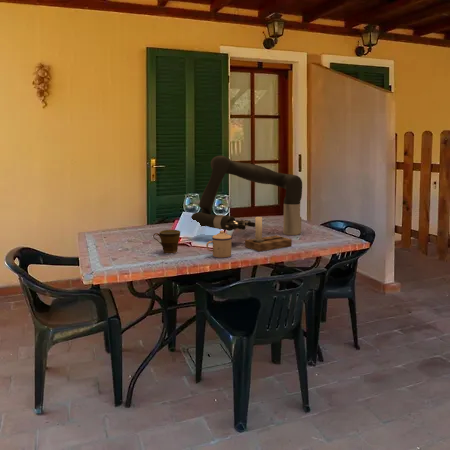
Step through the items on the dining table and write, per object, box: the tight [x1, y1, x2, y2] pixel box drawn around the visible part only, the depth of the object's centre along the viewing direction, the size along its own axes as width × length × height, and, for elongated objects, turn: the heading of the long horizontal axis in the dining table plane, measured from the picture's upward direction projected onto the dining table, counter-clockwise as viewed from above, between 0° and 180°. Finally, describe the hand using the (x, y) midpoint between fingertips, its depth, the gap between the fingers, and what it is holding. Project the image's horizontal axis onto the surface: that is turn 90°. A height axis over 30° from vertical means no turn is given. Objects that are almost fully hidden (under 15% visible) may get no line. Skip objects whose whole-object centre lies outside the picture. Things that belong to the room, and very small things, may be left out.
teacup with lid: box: [205, 230, 233, 259], centre depth 214 cm, size 12×9×12 cm
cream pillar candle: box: [252, 216, 264, 242], centre depth 227 cm, size 4×4×14 cm
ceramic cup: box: [152, 229, 181, 254], centre depth 222 cm, size 13×10×10 cm
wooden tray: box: [244, 234, 293, 253], centre depth 232 cm, size 20×12×4 cm, turn 122°
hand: (250, 226), depth 230 cm, fingers open, 8 cm apart
